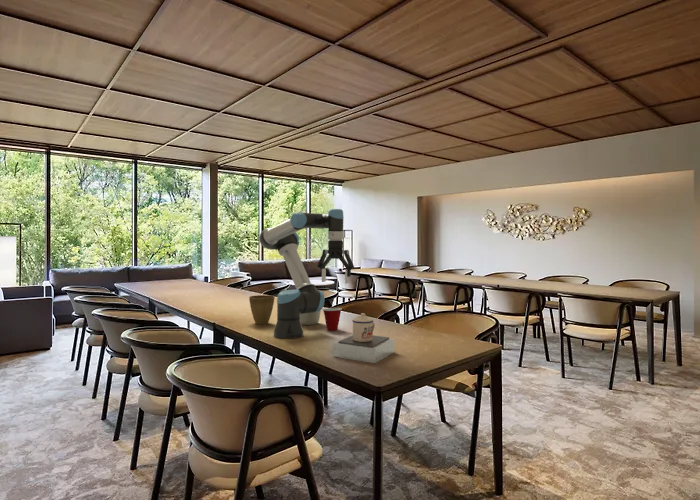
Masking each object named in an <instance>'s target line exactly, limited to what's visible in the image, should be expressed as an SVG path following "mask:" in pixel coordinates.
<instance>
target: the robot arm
mask: <svg viewBox="0 0 700 500" xmlns="http://www.w3.org/2000/svg"><path fill="white" fill-rule="evenodd" d="M344 218H345V217H344V210H343V209H340V208H330V209H328V213H317V212H316V213H311V212H303V211H302V212H301V211H300V212H293V213H292V214H291V216H290V218H288V219H287V220H285V221H282V222H281V223H279V224H278V225H275V226H273V227H267V228H265V229H263V230H262V231H260V234H259V239H258V240H259V243H260V245H261V246H262V247H263V248H265V249H266V250H272V251H273V250H277V252H278V255H279V256H282V258H283V260H284V262H285V264H286V267H287V269H288V272H289V274H290V277H291V279H292V281H293V284H294V287H295V289H286V290H283V291H282V290H281V291H280V292H279V293H278V294H277V299H276V300H277V301H276V302H277V303H276V304H277V307H276V308H277V309H276V311H277V312H276V313H277V318H276V319H277V320H276V324H275V326H274V331H273V337H275V338H277V339H285V340H286V339H288V340H290V339H299V338H301V337H303V336H304V329H303V327H302V326H303V325H301V323H300V314H304V313H314V312H318V311H320V310H321V311H322V309H324V305H325V299H326V298H325V294H324V292H323V291H322V290H320V289H317V288H316V285H315V284H313V283H312V282H311V279H310V278H309V275H308V273H307V271H306V269H305V267H304V264H303V262H302V259H301V257H300V253H299V252H298V249H299V245H300V238H299V235H298V233H297V232H300V231H302V230H303V229H320V230H322V229H327V233H328V234H327V238H328V241H327V248H328V249H322V254H321V256H320V259H319V261H318V263H317V266H316V267H317V268H319V269H320V276H321V283H324V282H325V283H326V282H327V279H326V278H327V275H326V274H327V268H326V267H327V265H328V264H329V263H330V261H331V260H332V259H333V260H334V259H335V260H339V261H340V262H341V264H342V265H343V266H344V268H345V271H344V272H345V273H344V274H345V275H344V277H345V278H344V280H345V281H344V284H345V285H346V284H349V283H350V277H351V276H352V273H351V271H352V270H354V269H355V265H354V263H353V260H352V258H351V256H350V251H349V249H344V241H343V240H344ZM321 311H320V312H321Z"/></svg>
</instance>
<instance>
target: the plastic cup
mask: <svg viewBox="0 0 700 500" xmlns="http://www.w3.org/2000/svg"><path fill="white" fill-rule="evenodd" d="M342 309H343V308H342V307H341V308H340V307H329V308H322V309H321V311H322V312H323V315H324V319H325V325H326V331H331V332H334V331H338V328H339V323H340V317H341V314H342V313H341V312H342Z"/></svg>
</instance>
